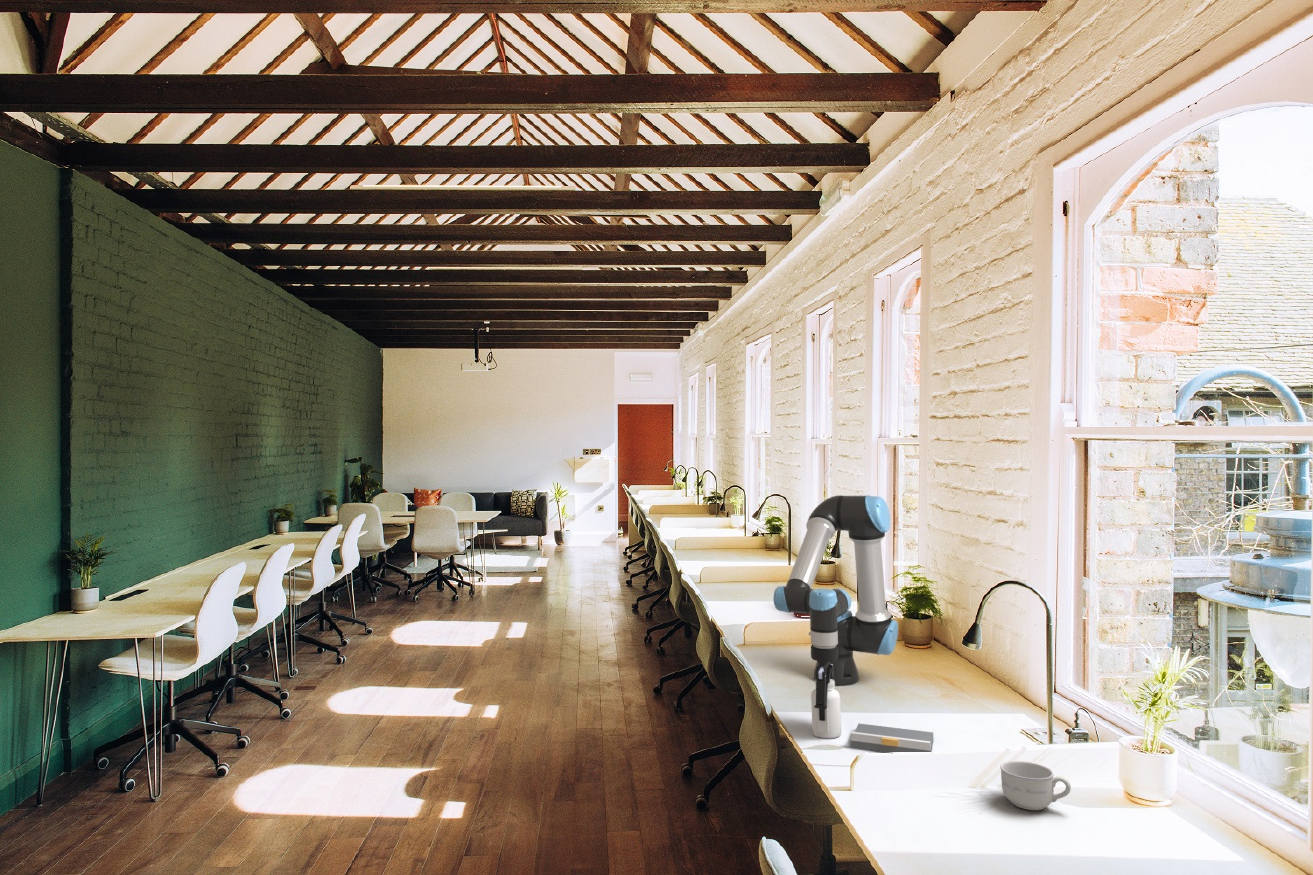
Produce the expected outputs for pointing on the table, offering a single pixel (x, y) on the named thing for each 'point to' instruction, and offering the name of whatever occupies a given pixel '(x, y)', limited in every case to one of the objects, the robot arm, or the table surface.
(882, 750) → the shelf
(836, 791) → the table surface
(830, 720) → the pill bottle
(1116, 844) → the table surface
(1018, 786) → the teacup
